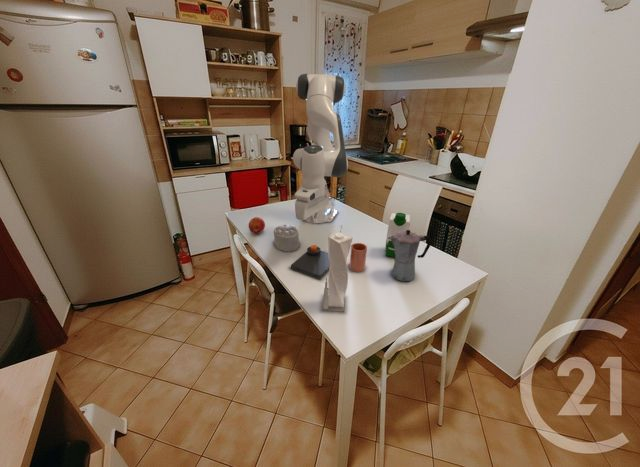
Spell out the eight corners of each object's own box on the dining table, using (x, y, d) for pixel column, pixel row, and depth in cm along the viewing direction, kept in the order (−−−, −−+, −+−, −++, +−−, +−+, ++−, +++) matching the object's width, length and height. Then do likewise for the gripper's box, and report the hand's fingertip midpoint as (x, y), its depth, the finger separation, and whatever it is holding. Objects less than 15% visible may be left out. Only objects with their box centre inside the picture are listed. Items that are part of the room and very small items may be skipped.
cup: (353, 261, 113) (355, 241, 108) (367, 266, 110) (369, 245, 105) (347, 269, 108) (348, 248, 103) (361, 273, 105) (363, 252, 100)
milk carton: (383, 256, 116) (389, 215, 107) (385, 246, 124) (391, 207, 115) (403, 260, 114) (411, 218, 104) (405, 250, 121) (412, 210, 112)
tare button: (312, 247, 117) (312, 244, 116) (318, 249, 115) (318, 246, 114) (309, 250, 114) (309, 247, 114) (314, 252, 113) (314, 249, 112)
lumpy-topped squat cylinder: (291, 236, 132) (290, 220, 128) (303, 247, 122) (303, 231, 118) (272, 241, 127) (270, 225, 123) (283, 254, 118) (281, 237, 114)
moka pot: (382, 267, 109) (388, 224, 100) (419, 268, 109) (429, 225, 99) (386, 281, 101) (393, 236, 91) (427, 282, 100) (438, 237, 91)
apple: (267, 229, 139) (265, 215, 136) (262, 236, 132) (261, 222, 128) (252, 228, 140) (250, 214, 136) (247, 235, 133) (245, 221, 129)
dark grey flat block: (311, 251, 120) (311, 244, 118) (339, 260, 114) (339, 253, 112) (290, 268, 108) (290, 261, 106) (320, 279, 101) (320, 272, 100)
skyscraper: (325, 293, 94) (326, 223, 81) (347, 295, 94) (352, 224, 81) (322, 310, 87) (324, 236, 74) (347, 312, 86) (353, 237, 73)
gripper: (320, 181, 111) (319, 211, 118) (291, 195, 96) (293, 229, 102) (333, 184, 108) (332, 214, 115) (305, 199, 93) (306, 233, 99)
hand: (313, 221), depth 108 cm, fingers closed
